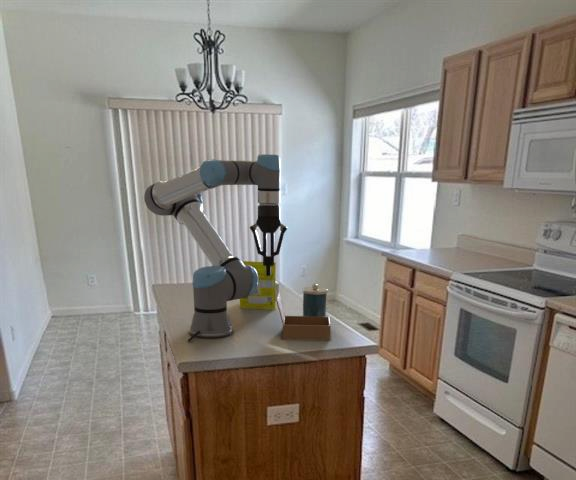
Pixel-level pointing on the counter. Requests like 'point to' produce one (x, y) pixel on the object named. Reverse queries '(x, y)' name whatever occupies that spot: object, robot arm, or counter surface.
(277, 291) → the lumpy-topped squat cylinder
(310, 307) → the cookie jar
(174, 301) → the counter surface
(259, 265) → the food package
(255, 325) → the counter surface
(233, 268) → the robot arm
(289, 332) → the carton
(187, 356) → the counter surface
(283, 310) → the flap
